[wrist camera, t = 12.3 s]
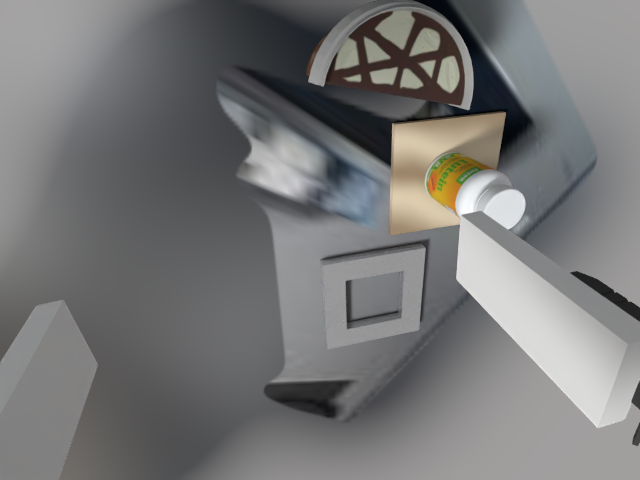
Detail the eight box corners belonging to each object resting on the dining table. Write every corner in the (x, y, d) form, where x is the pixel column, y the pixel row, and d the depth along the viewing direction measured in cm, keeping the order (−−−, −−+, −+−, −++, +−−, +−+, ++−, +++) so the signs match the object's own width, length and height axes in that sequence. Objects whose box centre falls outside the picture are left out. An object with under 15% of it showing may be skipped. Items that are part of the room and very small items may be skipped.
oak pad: (392, 123, 39) (394, 124, 39) (502, 111, 41) (506, 112, 41) (388, 232, 45) (391, 235, 44) (485, 217, 47) (488, 219, 46)
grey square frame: (320, 260, 44) (322, 265, 43) (421, 243, 46) (425, 247, 45) (325, 342, 50) (327, 349, 49) (414, 324, 52) (418, 330, 51)
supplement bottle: (445, 141, 41) (506, 169, 32) (479, 166, 43) (545, 199, 35) (413, 185, 42) (464, 223, 34) (448, 208, 44) (503, 249, 36)
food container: (434, 20, 36) (505, 17, 27) (416, 92, 38) (475, 111, 30) (299, -11, 32) (331, -26, 24) (289, 71, 35) (314, 85, 26)
